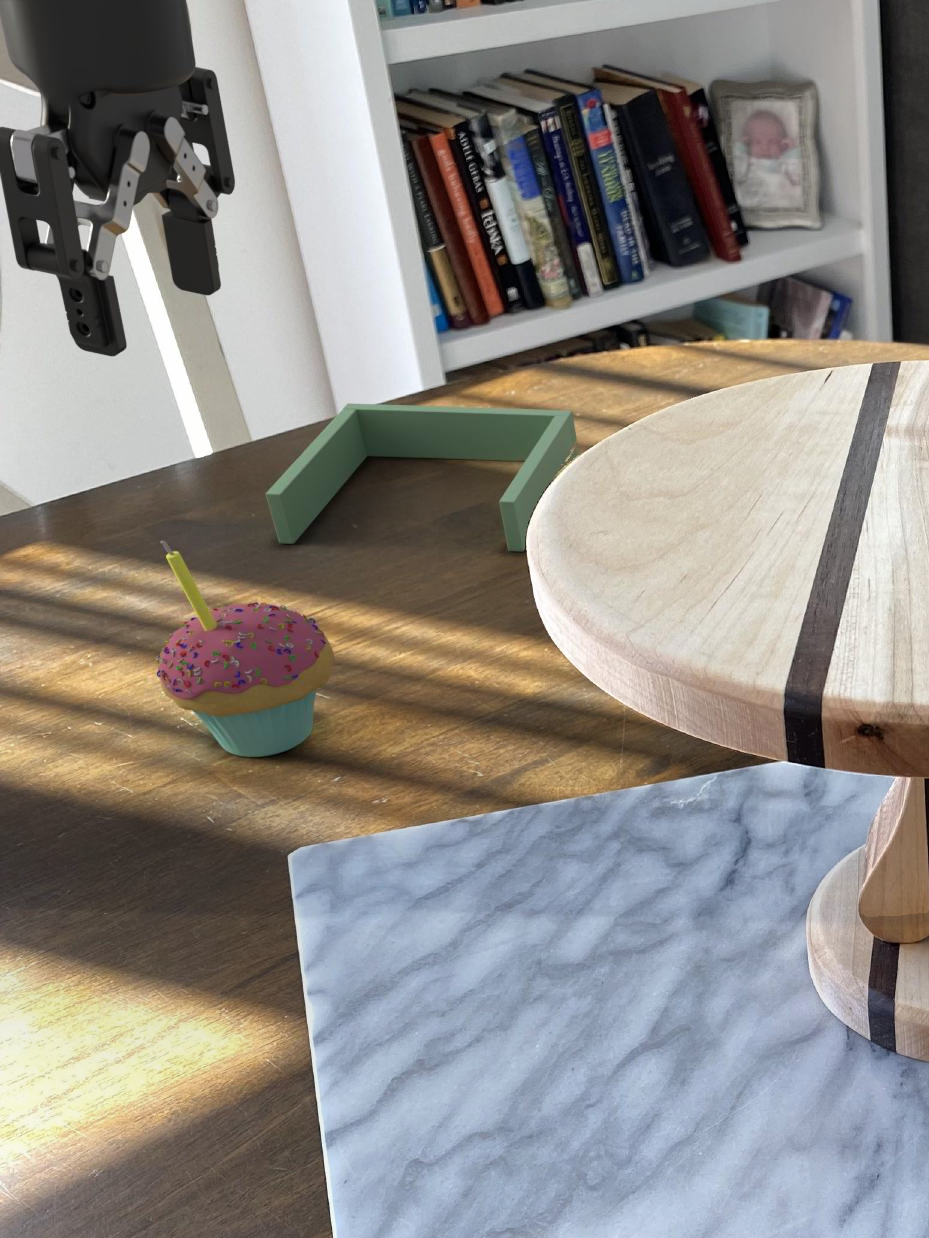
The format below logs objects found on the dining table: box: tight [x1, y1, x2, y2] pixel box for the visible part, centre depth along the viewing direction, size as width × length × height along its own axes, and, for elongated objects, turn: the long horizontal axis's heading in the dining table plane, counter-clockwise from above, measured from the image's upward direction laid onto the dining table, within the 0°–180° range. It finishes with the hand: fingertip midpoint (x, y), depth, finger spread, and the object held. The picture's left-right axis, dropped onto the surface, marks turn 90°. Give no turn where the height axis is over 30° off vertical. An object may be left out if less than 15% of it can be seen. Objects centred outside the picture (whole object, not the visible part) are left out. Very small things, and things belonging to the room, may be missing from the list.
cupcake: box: [155, 540, 335, 758], centre depth 88 cm, size 9×8×12 cm
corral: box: [265, 402, 580, 553], centre depth 114 cm, size 15×16×4 cm
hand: (151, 319), depth 83 cm, fingers open, 8 cm apart
